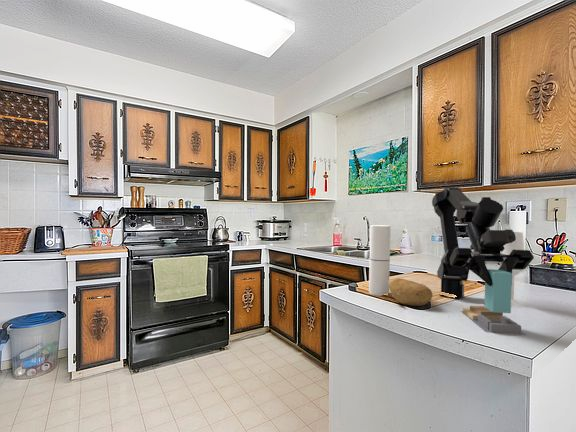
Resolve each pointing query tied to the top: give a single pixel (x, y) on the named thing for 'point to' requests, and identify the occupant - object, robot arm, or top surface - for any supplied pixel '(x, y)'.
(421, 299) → the potato
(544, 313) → the top surface
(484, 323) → the slotted grey block
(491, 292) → the teal slat
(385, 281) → the cylindrical container
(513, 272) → the champagne flute
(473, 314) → the offcut stack
